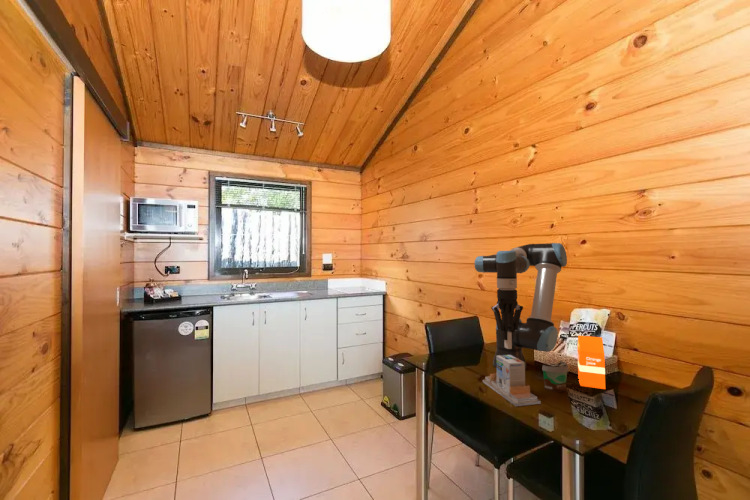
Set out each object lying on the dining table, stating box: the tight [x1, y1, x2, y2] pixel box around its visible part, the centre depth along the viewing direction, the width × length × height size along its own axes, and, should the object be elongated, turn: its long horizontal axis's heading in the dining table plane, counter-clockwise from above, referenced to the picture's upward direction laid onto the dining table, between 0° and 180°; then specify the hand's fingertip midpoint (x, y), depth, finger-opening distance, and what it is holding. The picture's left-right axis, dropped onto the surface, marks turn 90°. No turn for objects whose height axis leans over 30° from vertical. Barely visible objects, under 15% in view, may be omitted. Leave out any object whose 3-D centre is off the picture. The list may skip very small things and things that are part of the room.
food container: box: [541, 360, 570, 393], centre depth 134 cm, size 12×6×10 cm, turn 117°
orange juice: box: [577, 335, 606, 390], centre depth 140 cm, size 8×9×20 cm
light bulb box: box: [495, 355, 526, 390], centre depth 133 cm, size 11×7×11 cm, turn 8°
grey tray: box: [482, 372, 542, 407], centre depth 132 cm, size 10×24×5 cm, turn 11°
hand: (508, 348), depth 133 cm, fingers closed
